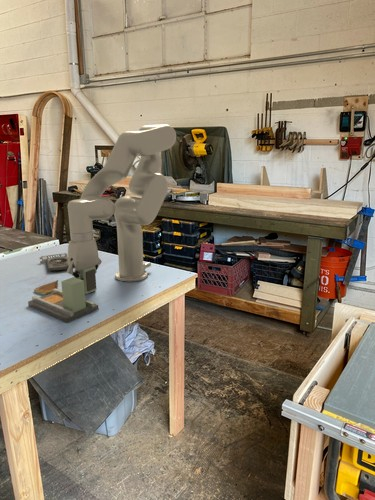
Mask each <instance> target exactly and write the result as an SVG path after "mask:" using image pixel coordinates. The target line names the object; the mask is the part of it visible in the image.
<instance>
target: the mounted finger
mask: <svg viewBox="0 0 375 500" xmlns="http://www.w3.org/2000/svg"><path fill="white" fill-rule="evenodd" d="M60 283H61V291H62V295H63V306H64V308H66V309H68V310H70V311H73V312H77V311H79V310H81V309H84V308H86V303H85V300H86V294H85V289H84V280H81V279H78V278H75V277H74V276H71V277H70V278H66V279H64V280H61V281H60Z"/></svg>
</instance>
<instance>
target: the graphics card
mask: <svg viewBox="0 0 375 500" xmlns="http://www.w3.org/2000/svg"><path fill="white" fill-rule="evenodd" d="M39 260H40V261H39V263H40V264H45V263H46V265H47V269H48V271H50V272H51V271H61V270H67V269H68V267H69V266H68V253H58V254H57V253H56V254H50V255H49V254H48V255H42V256H41V257H39Z"/></svg>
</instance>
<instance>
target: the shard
mask: <svg viewBox="0 0 375 500" xmlns="http://www.w3.org/2000/svg"><path fill="white" fill-rule="evenodd" d="M58 286H59V280H58V279H57V280H54V281H51V282H49V283H45V284H43V285H39V286H38V287H35V288H34V289H33V292H35V293H37V294H41V295H42V296H45V295H48V294H51V293H54V292H53V289H55V288H56V289H58Z"/></svg>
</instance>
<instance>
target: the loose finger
mask: <svg viewBox="0 0 375 500" xmlns="http://www.w3.org/2000/svg"><path fill="white" fill-rule="evenodd" d="M78 272H79V271H78ZM82 278H83V280H84V289H85V295H87V294H90V293H93V292H95V291H97V279H96V273H95V266H92V267H89V268H86V269H83V270H82Z"/></svg>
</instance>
